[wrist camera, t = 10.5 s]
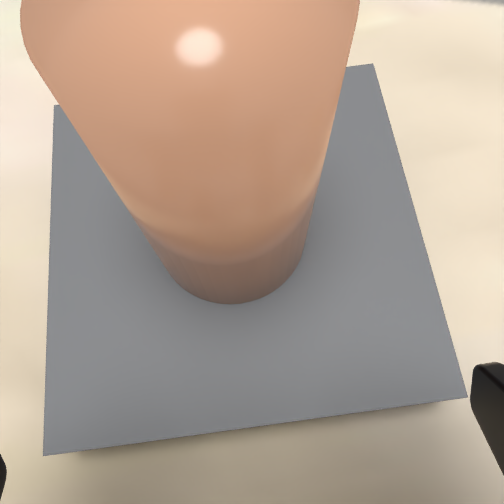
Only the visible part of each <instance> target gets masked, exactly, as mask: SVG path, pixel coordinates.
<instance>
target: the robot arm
mask: <svg viewBox="0 0 504 504" xmlns="http://www.w3.org/2000/svg"><path fill="white" fill-rule="evenodd" d="M470 403H471V408H472V411H473V413H474V415H475V417H476V419H477V421H478V423H479V425H480V427H481V430H482V432H483V434H484V436H485V438H486V440H487V442H488V444H489V446H490V448H491V450H492V452H493V454H494V456H495V458H496V461H497V463H498V465H499V467H500V469H501V471H502V473H503V475H504V365H503V364H501V363H498V362H492V363H485V364H479V365H476V366H475V367H474V369H473V375H472V385H471V394H470ZM6 475H7V470H6V465H5V463H4V461H3V459H2V456H1V454H0V499H1V496H2V492H3V488H4V485H5V481H6Z"/></svg>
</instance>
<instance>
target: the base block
mask: <svg viewBox="0 0 504 504" xmlns="http://www.w3.org/2000/svg"><path fill="white" fill-rule="evenodd" d="M467 397H468V395H467V392H466V388H465V385H464V381H463V378H462V374H461V371H460V367H459V364H458V360H457V357H456V353H455V350H454V346H453V343H452V339H451V335H450V332H449V328H448V325H447V321H446V318H445V314H444V311H443V307H442V304H441V300H440V297H439V293H438V290H437V286H436V283H435V279H434V276H433V272H432V269H431V265H430V262H429V258H428V255H427V251H426V248H425V244H424V241H423V237H422V234H421V230H420V227H419V223H418V220H417V216H416V212H415V209H414V205H413V202H412V198H411V195H410V191H409V188H408V184H407V181H406V177H405V174H404V170H403V167H402V163H401V160H400V156H399V153H398V149H397V146H396V142H395V139H394V135H393V132H392V128H391V125H390V121H389V118H388V114H387V111H386V107H385V104H384V100H383V96H382V93H381V89H380V86H379V82H378V79H377V75H376V72H375V68H374V65H373V64H366V65H358V66H351V67H346V70H345V74H344V78H343V82H342V87H341V91H340V95H339V100H338V104H337V108H336V113H335V117H334V121H333V126H332V130H331V134H330V138H329V143H328V147H327V151H326V156H325V160H324V164H323V169H322V173H321V177H320V182H319V186H318V190H317V194H316V199H315V203H314V207H313V212H312V216H311V220H310V225H309V229H308V233H307V238H306V242H305V246H304V250H303V253H302V256H301V259H300V261H299V263H298V265H297V267H296V269H295V270H294V272H293V273H292V275H291V276H290V277H289V278H288V279H287V280H286V281H285V282H284V283H283V284H282V285H281V286H280V287H279V288H277V289H276V290H274V291H273V292H271V293H270V294H268V295H266V296H264V297H262V298H260V299H257V300H254V301H251V302H246V303H241V304H219V303H214V302H209V301H206V300H203V299H200V298H198V297H196V296H194V295H192V294H190V293H189V292H187V291H186V290H184V289H183V288H182V287H181V286H180V285H179V284H177V283H176V281H175V280H174V279H173V278H172V277H171V276H170V274H169V272H168V271H167V269H166V268H165V266H164V265H163V263H162V262H161V260H160V259H159V257H158V256H157V254H156V252H155V251H154V249H153V248H152V246H151V245H150V243H149V242H148V240H147V239H146V237H145V236H144V234H143V232H142V231H141V229H140V228H139V226H138V225H137V223H136V222H135V220H134V219H133V217H132V216H131V214H130V212H129V211H128V209H127V208H126V206H125V205H124V203H123V202H122V200H121V199H120V197H119V196H118V194H117V192H116V191H115V189H114V188H113V186H112V185H111V183H110V182H109V180H108V179H107V177H106V176H105V174H104V172H103V171H102V169H101V168H100V166H99V165H98V163H97V162H96V160H95V159H94V157H93V156H92V154H91V152H90V151H89V149H88V148H87V146H86V145H85V143H84V142H83V140H82V139H81V137H80V136H79V134H78V132H77V131H76V129H75V128H74V126H73V125H72V123H71V122H70V120H69V119H68V117H67V116H66V114H65V112H64V111H63V109H62V108H61V106H60V105H54V122H53V154H52V185H51V217H50V249H49V281H48V313H47V344H46V376H45V408H44V440H43V456H48V455H55V454H62V453H69V452H77V451H84V450H91V449H98V448H106V447H113V446H120V445H127V444H134V443H142V442H149V441H156V440H163V439H171V438H178V437H185V436H192V435H200V434H207V433H214V432H221V431H228V430H236V429H243V428H250V427H257V426H265V425H272V424H279V423H286V422H294V421H301V420H308V419H315V418H322V417H330V416H337V415H344V414H351V413H359V412H366V411H373V410H380V409H388V408H395V407H402V406H409V405H416V404H424V403H431V402H438V401H445V400H453V399H460V398H467Z"/></svg>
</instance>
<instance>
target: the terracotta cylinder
mask: <svg viewBox="0 0 504 504" xmlns="http://www.w3.org/2000/svg"><path fill="white" fill-rule="evenodd" d="M359 4H360V0H22V2H21V9H20V22H21V32H22V36H23V41H24V45H25V47H26V50H27V52H28V55H29V57H30V60H31V61H32V63H33V65H34V66H35V68H36V69H37V71H38V72H39V74H40V76H41V77H42V79H43V80H44V82H45V83H46V85H47V86H48V88H49V89H50V91H51V92H52V94H53V96H54V97H55V99H56V100H57V102H58V103H59V105H60V106H61V108H62V109H63V111H64V112H65V114H66V116H67V117H68V119H69V120H70V122H71V123H72V125H73V126H74V128H75V129H76V131H77V132H78V134H79V136H80V137H81V139H82V140H83V142H84V143H85V145H86V146H87V148H88V149H89V151H90V152H91V154H92V156H93V157H94V159H95V160H96V162H97V163H98V165H99V166H100V168H101V169H102V171H103V172H104V174H105V176H106V177H107V179H108V180H109V182H110V183H111V185H112V186H113V188H114V189H115V191H116V192H117V194H118V196H119V197H120V199H121V200H122V202H123V203H124V205H125V206H126V208H127V209H128V211H129V212H130V214H131V216H132V217H133V219H134V220H135V222H136V223H137V225H138V226H139V228H140V229H141V231H142V232H143V234H144V236H145V237H146V239H147V240H148V242H149V243H150V245H151V246H152V248H153V249H154V251H155V252H156V254H157V256H158V257H159V259H160V260H161V262H162V263H163V265H164V266H165V268H166V269H167V271H168V272H169V274H170V276H171V277H172V278H173V279H174V280H175V281H176V283H177V284H179V285H180V286H181V287H182V288H183V289H184V290H186V291H187V292H189V293H190V294H192V295H194V296H196V297H198V298H200V299H203V300H206V301H209V302H214V303H219V304H241V303H246V302H251V301H254V300H257V299H260V298H262V297H264V296H266V295H268V294H270V293H271V292H273V291H274V290H276V289H277V288H279V287H280V286H281V285H282V284H283V283H284V282H285V281H286V280H287V279H288V278H289V277H290V276H291V275H292V273H293V272H294V270H295V269H296V267H297V265H298V263H299V261H300V259H301V256H302V253H303V250H304V246H305V242H306V238H307V233H308V229H309V225H310V220H311V216H312V212H313V207H314V203H315V199H316V194H317V190H318V186H319V182H320V177H321V173H322V169H323V164H324V160H325V156H326V151H327V147H328V143H329V138H330V134H331V130H332V126H333V121H334V117H335V113H336V108H337V104H338V100H339V95H340V91H341V87H342V82H343V78H344V74H345V70H346V65H347V61H348V57H349V52H350V48H351V44H352V39H353V35H354V31H355V26H356V22H357V17H358V10H359Z"/></svg>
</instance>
